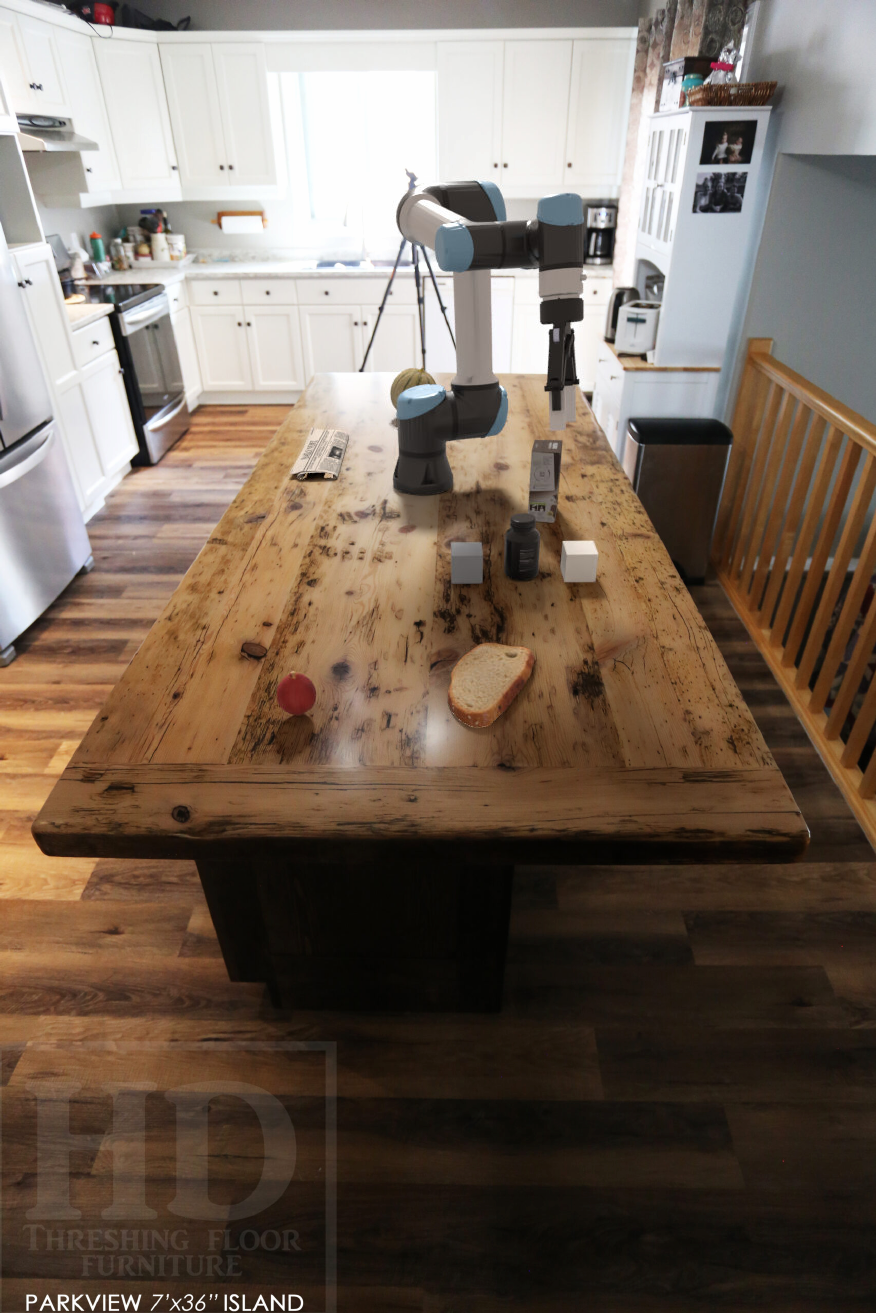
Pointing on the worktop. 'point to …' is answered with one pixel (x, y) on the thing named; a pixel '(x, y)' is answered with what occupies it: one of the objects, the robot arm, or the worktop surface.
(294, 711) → the onion
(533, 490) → the coffee box
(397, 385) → the cantaloupe
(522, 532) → the supplement bottle
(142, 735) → the worktop surface
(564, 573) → the off-white block
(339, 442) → the newspaper
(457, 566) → the slate-grey block
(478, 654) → the bread slice
